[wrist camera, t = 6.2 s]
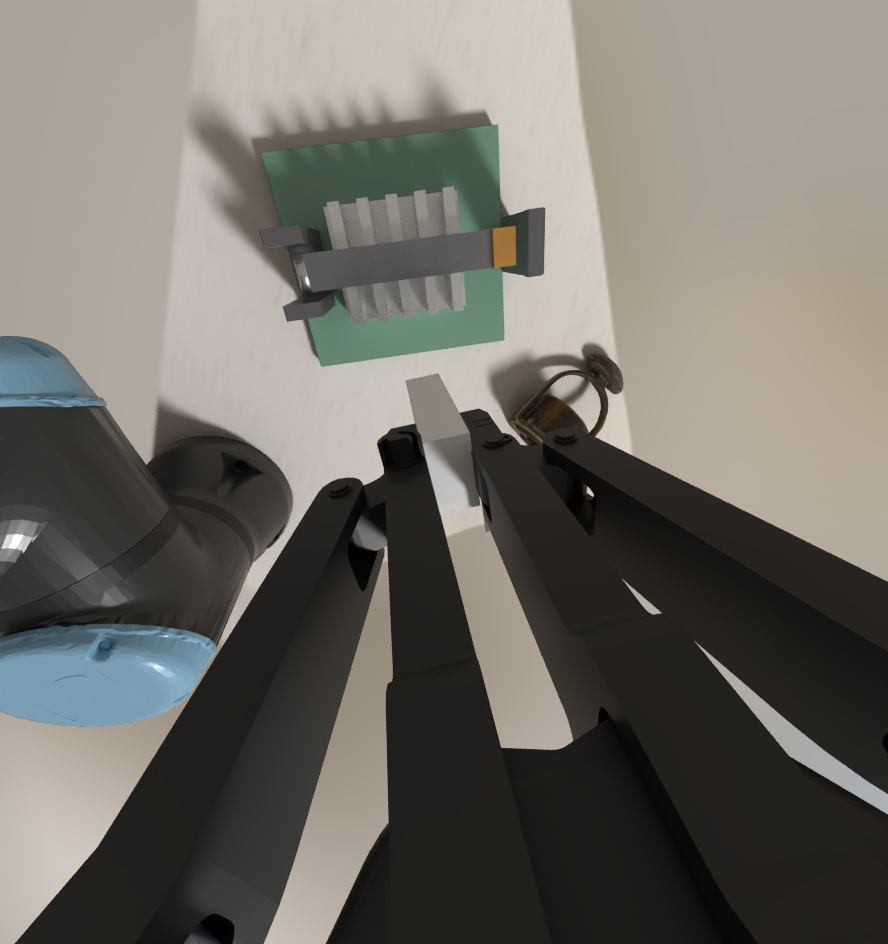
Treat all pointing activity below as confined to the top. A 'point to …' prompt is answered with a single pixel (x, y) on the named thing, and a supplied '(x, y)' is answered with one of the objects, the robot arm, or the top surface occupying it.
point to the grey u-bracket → (296, 242)
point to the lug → (527, 242)
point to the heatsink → (392, 225)
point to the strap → (405, 259)
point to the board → (397, 171)
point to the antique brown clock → (557, 413)
